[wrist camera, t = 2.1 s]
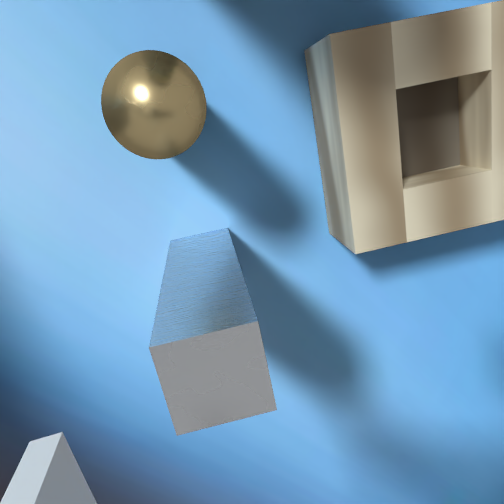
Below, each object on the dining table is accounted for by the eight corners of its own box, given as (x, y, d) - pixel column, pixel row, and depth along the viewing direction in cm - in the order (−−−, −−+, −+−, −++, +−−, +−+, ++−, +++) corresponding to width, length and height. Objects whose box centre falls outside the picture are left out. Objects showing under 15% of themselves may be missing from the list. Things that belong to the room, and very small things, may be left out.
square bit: (184, 293, 29) (176, 435, 16) (170, 240, 28) (148, 347, 15) (239, 280, 29) (276, 409, 16) (227, 227, 28) (258, 321, 15)
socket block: (329, 233, 29) (355, 254, 24) (304, 50, 25) (329, 33, 21) (485, 197, 30) (540, 211, 25) (484, 15, 26) (549, -9, 21)
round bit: (146, 152, 26) (118, 168, 16) (128, 85, 25) (87, 61, 15) (208, 139, 26) (216, 147, 17) (193, 72, 25) (193, 40, 15)
